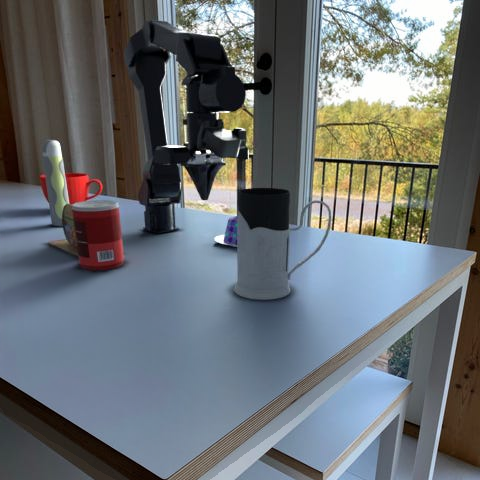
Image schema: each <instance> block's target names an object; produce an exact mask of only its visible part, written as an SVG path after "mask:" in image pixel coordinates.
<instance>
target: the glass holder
mask: <svg viewBox="0 0 480 480" xmlns="http://www.w3.org/2000/svg"><path fill="white" fill-rule="evenodd" d="M291 193H292V191H291V190H288V189H284V188H277V187H250V188H243V189H240V190H238V206H236V213H237V214H236V216H237V247H236V250H237V251H236V255H237V256H236V265H237V266H236V269H237V270H236V278H237V279H236V284H235V286H234V288H233V289H234V290H233V291H234V293H235V294H236V295H238V296H240V297H243V298H247V299H249V300H258V301H259V300H260V301H261V300H262V301H265V300H266V301H267V300H277V299H281V298H284V297H286V296H288V295H289V294H290V293H291V287H290V285H289V281H290V280H291V275H292V274H293V273H294V272H295V271H296V270H297V269H298V268H300V267H301V266H302V265H304V264H306V263H307V262H308V261H309V260H310V259H311V258H312V257H314V256H315V255H316V254H317V253H318V252H319V251H320V250H321V248H322V247H323V245H324V244H325V242H326V240H327V238H328V236H329V233H330V230H331V223H332V210H331V208H330V206H329V205H328V204H327V203H326V202H325V201H322V200H317V199H315V200H311V201H309V202H308V203H306V204H305V205H304V206H303V207H302V210H301V212H300V219H299V225H297V226H296V227H291V226H290V218H291V217H290V215H291V195H292V194H291ZM313 204H321V205H323V206H324V207H326V209H327V211H328V212H327V213H328V219H327V225H326V226H327V227H326V230H325V233H324V235H323V238H322V239H321V241H320V243H319V244H318V246H317V247H316V248H315V250H313V251H312V252H311V253H310V254H309V255H308V256H306V257H305V258H304V259H303V260H301V261H300V262H299V263H297V264H296V265H295V266H293V268H291V269H290V270H289V264H290V245H291V244H290V241H291V231H292V232H293V231H298V230H300V229H301V228H302V227H303V223H304V216H305V213H306V211H307V209H308V208H309V207H310V206H311V205H313Z"/></svg>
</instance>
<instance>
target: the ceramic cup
mask: <svg viewBox="0 0 480 480" xmlns="http://www.w3.org/2000/svg"><path fill="white" fill-rule="evenodd" d="M65 178H66V184H67V191H68V198H69V204H75V203H78V202H84V201H90V200H92V199H94V198H97V197H99V195H101V193H102V191H103V184H102V182H101V180H99V179H96V178H95V179H91V180H89V174H87V173H83V172H82V173H81V172H65ZM39 181H40V182H39V183H40V187H41V191H42V193H43V197H44V198H45V200H46V202H47V203H48V204H49V200H48V192H47V185H46V178H45V174H41V175H39ZM93 183H97V184H98V185H99V188H98V191H97V192H96V193H95V194H93V195H91V196H89V189H90V185H92V184H93Z"/></svg>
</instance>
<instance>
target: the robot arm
mask: <svg viewBox="0 0 480 480" xmlns="http://www.w3.org/2000/svg"><path fill="white" fill-rule="evenodd" d="M171 54H172V55H174V56H175V62H176V64H178V65H179V66H180V67H181V68H182V69H183V70H184V71H185V72H186V73H187V74H186V75H185V77H184V78H183V79H182V81H181V86H182V87H185V99H186V100H185V105H186V106H185V107H186V118H182V125H183V126H186V127H187V128H186V130H187V131H186V132H187V133H186V135H187V142H183V146H182V145H169V144H168V137H167V129H166V122H165V113H164V105H163V98H162V90H161V89H162V88H161V87H162V85H163V83H164V80H165V78H166V75H167V65H168V63H169V62H170V60H171V58H172V55H171ZM123 60H124V65H125V66H126V69H127V73H128V78H129V80H130V81H131V83H132V85H134V87H135V88H136V89H137V91H138V98H139V105H140V111H141V112H140V113H141V118H142V127H143V133H144V140H145V148H146V149H145V150H146V156H147V161H146V164H145V165H144V168H143V170H142V181H141V184H140V188H139V190H138V193H137V198H138V203H139V205H141V206H144V209H145V210H144V212H143V218H144V219H143V220H144V226H143V227H142V229H143V230H144V231H147V232H150V233H155V234H162V233H163V234H164V233H169V232H175V231H179V230H181V229H180V227H179V226H177V224H176V210H175V208H176V207H175V204H181V198H182V190H183V182H182V179H181V176H180V166H181V167H184V169H185V170H186V172H187V173H188V175H189V177H190V179H191V181H192V183H193V185H194V187H195V189H196V191H197V193H198V196H199V197H200V200H201V201H209V198H210V195H211V191H212V188H213V185H214V181H215V179H216V176H217V174H218V172H219V171H220V170H222V168H223V167H224V166H227V165H228V162H225V161H223V159H236V161H242V160H243V161H244V160H249V156H250V155H249V154H250V153H249V147H248V146H247V139H248V138H247V130H246V129H245V128H242V127H234V128H233V129H232V130H227V129H225V123H224V121H223V118H219V113H234V112H237V111H239V110H240V109H241V108H242V107H243V105H244V103H245V101H246V96H247V92H246V91H247V90H246V89H245V85H244V83H243V81H242V79H241V78H240V77H239V76H238V75H236V66H232V64H231V62H230V60H229V58H228V55H227V53H226V50H225V47H224V45H223V44H222V40H221V38H220V36H219V35H216V34H207V33H197V32H188V31H186V30H184V29H182V28H179V27H176V26H174V25H172V23H169V22H168V21H164V20H159V19H158V20H157V19H148V20H145V21H144V22H143V25H142V28H140V29H139V30H138V31H137V32H135V33H134V34H133V35H131V36H129V39H128V40H127V44H126V46H125V48H124V52H123ZM179 165H180V166H179Z"/></svg>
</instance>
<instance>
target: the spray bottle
mask: <svg viewBox="0 0 480 480" xmlns="http://www.w3.org/2000/svg"><path fill="white" fill-rule="evenodd" d="M41 153H42V163H43V170H44V175H45V178H46V185H47V192H48V200H49V203H48V206H49V214H50V220H51V221H50V222H51V225H52V226H55V227H63V225H62V211H63V208H64V206H65V205H66V204H69V198H68V191H67V184H66V178H65V173H66V172H65V171H66V170H65V164H64V158H63V154H62V149H61V144H60V141H58V140H55V139H45V140H44V141H43V142H42V145H41Z"/></svg>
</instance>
